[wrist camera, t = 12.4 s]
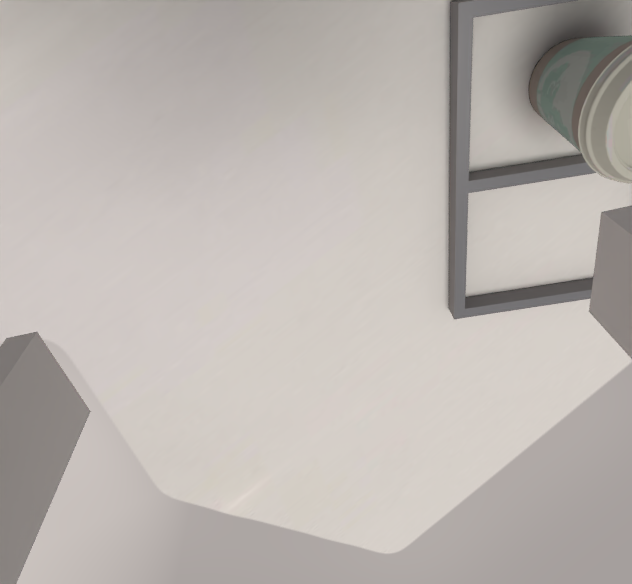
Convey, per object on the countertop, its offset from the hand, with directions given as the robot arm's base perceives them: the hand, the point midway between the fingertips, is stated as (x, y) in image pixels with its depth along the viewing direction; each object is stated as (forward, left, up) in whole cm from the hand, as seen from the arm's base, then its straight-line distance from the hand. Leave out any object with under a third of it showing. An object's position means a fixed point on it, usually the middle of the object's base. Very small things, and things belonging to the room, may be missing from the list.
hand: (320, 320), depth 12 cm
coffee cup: (+2, +21, -29) cm, 36 cm away
